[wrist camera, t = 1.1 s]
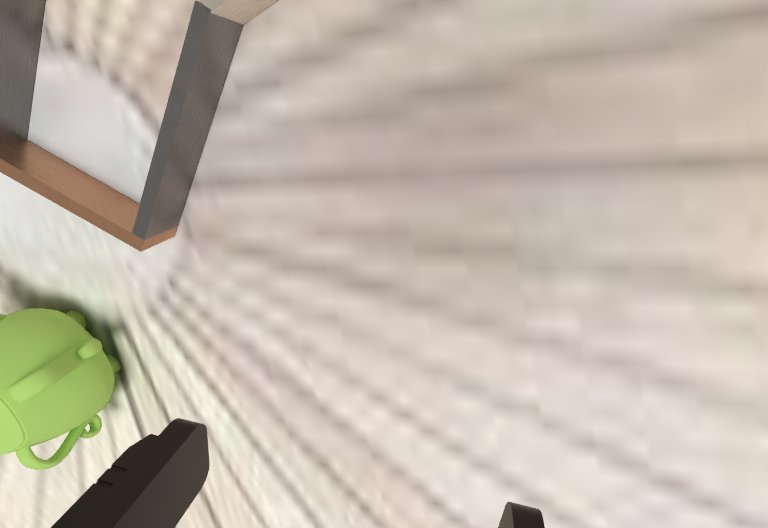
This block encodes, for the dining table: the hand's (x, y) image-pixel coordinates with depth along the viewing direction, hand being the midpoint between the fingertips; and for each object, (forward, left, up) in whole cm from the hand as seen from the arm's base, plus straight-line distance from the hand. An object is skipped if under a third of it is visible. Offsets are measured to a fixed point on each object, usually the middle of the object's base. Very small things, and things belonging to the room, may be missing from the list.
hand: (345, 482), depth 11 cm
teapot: (+34, -28, -26) cm, 51 cm away
